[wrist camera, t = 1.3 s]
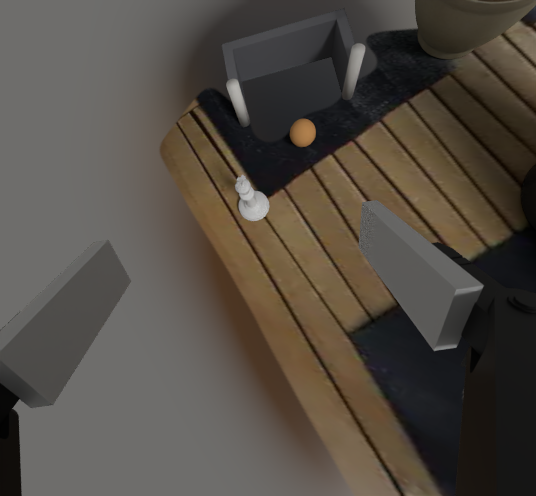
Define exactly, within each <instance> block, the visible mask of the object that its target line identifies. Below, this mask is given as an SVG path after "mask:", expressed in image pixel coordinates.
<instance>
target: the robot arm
mask: <svg viewBox="0 0 536 496" xmlns="http://www.w3.org/2000/svg"><path fill="white" fill-rule="evenodd" d="M521 199H522V206H523V209H524V212H525V215H526V217H527V219H528V220H529V222H530V224H531V225H532V226H533V228H534V229H535V230H536V165H534V166H533V168H532V169H531V170H530V171H529V173H528V174H527V176H526V178H525V180H524V183H523V186H522V193H521ZM359 249H360V250H361V252H362V253H363V255H364V256H365V257H366V259H367V260H368V261H369V263H370V264H371V265H372V267H373V268H374V270H375V271H376V272H377V274H378V275H379V276H380V278H381V279H382V281H383V282H384V283H385V285H386V286H387V287H388V289H389V290H390V291H391V293H392V294H393V296H394V297H395V298H396V300H397V301H398V302H399V304H400V305H401V306H402V308H403V309H404V311H405V312H406V313H407V315H408V316H409V317H410V319H411V320H412V321H413V323H414V324H415V326H416V327H417V328H418V330H419V331H420V332H421V334H422V335H423V336H424V338H425V339H426V341H427V342H428V343H429V345H430V346H431V347H432V349H433V350H434V351H435V350H442V349H449V348H456V347H457V345H458V343H459V340H460V338H461V336H463V337H464V338H465V339H466V341H467V342H468V343H469V344H470V347H469V349H468V351H467V353H466V355H465V357H464V359H463V362H462V364H461V366H463V367H465V366H466V374H465V386H464V398H463V410H462V422H461V433H460V445H459V457H458V469H457V481H456V493H455V496H536V294H535V293H532V292H529V291H526V290H522V289H515V288H505V287H503V286H502V285H501V284H499V283H498V282H497V281H495V280H494V279H493V278H491V277H490V276H489V275H487V274H486V273H485V272H483V271H482V270H481V269H479V268H478V267H477V266H475V265H474V264H471V262H470V261H468V260H467V259H466V258H463V257H462V255H460V254H459V253H458V252H456V251H455V250H454V249H452V248H450V247H448V246H445V245H443V244H441V243H438V242H437V243H430V242H429V241H428V240H426V239H425V238H424V237H423V236H421V235H420V234H419V233H418V232H416V231H415V230H414V229H413V228H411V227H410V226H409V225H408V224H406V223H405V222H404V221H403V220H401V219H400V218H399V217H398V216H396V215H395V214H394V213H393V212H391V211H390V210H389V209H388V208H386V207H385V206H384V205H383V204H381V203H380V202H379V201H378V200H375V201H368V202H362V212H361V225H360V237H359ZM130 282H131V280H130V278H129V276H128V275H127V273H126V271H125V269H124V267H123V266H122V264H121V262H120V260H119V258H118V256H117V255H116V253H115V251H114V249H113V248H112V246H111V244H110V242H109V240H106V241H99V242H94V243H93V244H91V245H90V247H88V248H87V249H86V250H85V251H84V252H83V253H82V254H81V255H80V256H79V257H78V258H77V259H76V260H75V261H74V262H72V263H71V264H70V266H68V267H67V268H66V269H65V270H64V271H63V272H62V273H61V274H60V275H59V276H58V277H57V278H56V279H54V280H53V281H52V282H51V283H50V284H49V285H48V286H47V287H46V288H45V289H44V290H43V291H42V292H41V293H40V294H39V295H37V297H35V298H34V299H33V300H32V301H31V302H30V303H29V304H28V305H27V306H26V307H25V308H24V309H23V310H22V311H21V312H19V313H18V314H17V315H16V316H15V317H14V318H13V319H12V320H11V321H10V322H8V324H7V325H6V326H4V327H3V328H2V329H1V330H0V496H22V495H21V469H20V444H19V443H20V442H19V416H18V414H17V412H16V411H15V410H14V409H12V408H13V407H14V405H15V404H16V403H17V401H18V400H19V399H20V400H21V401H23V402H24V403H25V404H27V405H28V406H29V407H30V408H35V407H42V406H49V405H53V404H54V403H55V401H56V399H57V398H58V396H59V395H60V393H61V392H62V390H63V388H64V386H65V385H66V384H67V382H68V380H69V379H70V377H71V376H72V374H73V373H74V371H75V369H76V368H77V366H78V365H79V363H80V361H81V360H82V358H83V357H84V355H85V354H86V352H87V350H88V349H89V347H90V346H91V344H92V343H93V341H94V339H95V338H96V336H97V335H98V333H99V331H100V330H101V328H102V327H103V325H104V323H105V322H106V320H107V319H108V317H109V316H110V314H111V312H112V311H113V309H114V308H115V306H116V304H117V303H118V301H119V300H120V298H121V297H122V295H123V294H124V292H125V290H126V289H127V287H128V285H129V284H130Z"/></svg>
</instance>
